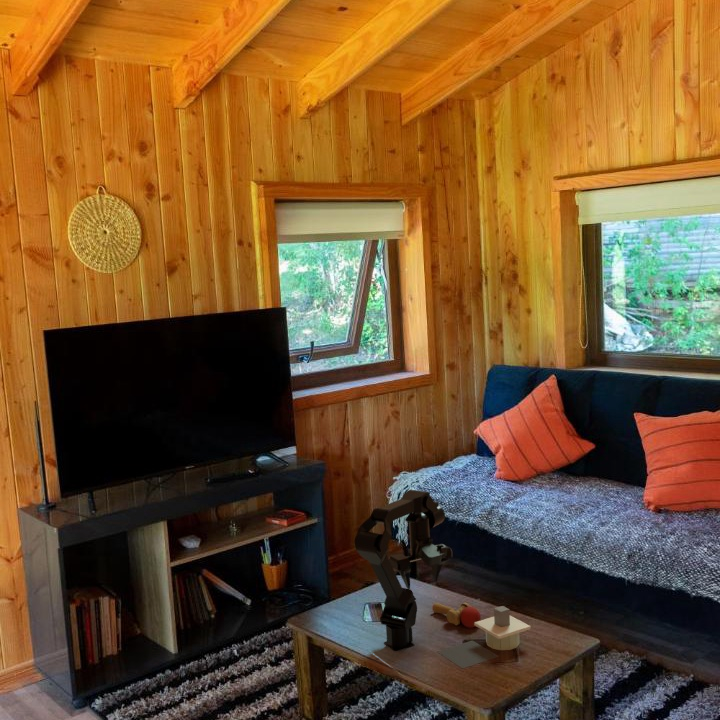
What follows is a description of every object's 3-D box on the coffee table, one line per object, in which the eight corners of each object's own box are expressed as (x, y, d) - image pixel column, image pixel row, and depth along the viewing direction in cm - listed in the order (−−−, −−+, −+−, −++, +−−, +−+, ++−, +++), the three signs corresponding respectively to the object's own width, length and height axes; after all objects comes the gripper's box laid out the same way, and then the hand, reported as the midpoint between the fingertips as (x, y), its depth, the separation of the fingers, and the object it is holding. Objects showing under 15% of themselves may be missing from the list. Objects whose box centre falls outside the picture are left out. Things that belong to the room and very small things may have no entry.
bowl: (500, 654, 245) (499, 636, 245) (480, 642, 253) (479, 625, 252) (526, 645, 250) (525, 628, 249) (505, 634, 257) (505, 617, 257)
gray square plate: (462, 669, 238) (462, 668, 238) (437, 653, 248) (436, 651, 248) (499, 657, 243) (498, 656, 243) (472, 641, 254) (472, 640, 254)
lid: (498, 639, 243) (498, 620, 243) (474, 625, 253) (473, 607, 252) (530, 628, 248) (530, 610, 248) (505, 615, 258) (505, 597, 257)
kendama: (425, 621, 273) (467, 631, 258) (425, 599, 273) (467, 608, 259) (444, 618, 277) (486, 627, 263) (444, 597, 278) (486, 605, 264)
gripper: (406, 547, 250) (409, 601, 252) (462, 534, 258) (464, 586, 260) (386, 537, 259) (389, 589, 261) (440, 524, 268) (442, 574, 270)
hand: (421, 585), depth 263 cm, fingers open, 9 cm apart
